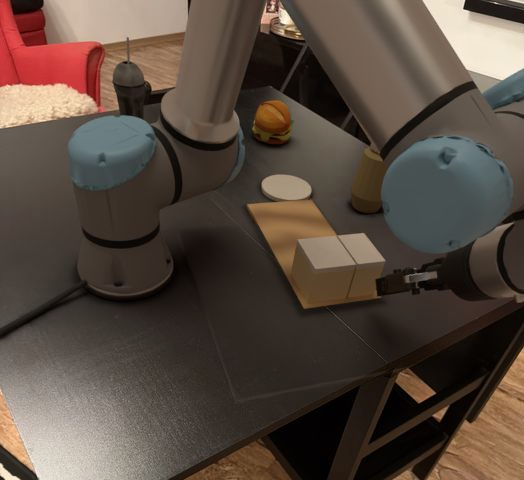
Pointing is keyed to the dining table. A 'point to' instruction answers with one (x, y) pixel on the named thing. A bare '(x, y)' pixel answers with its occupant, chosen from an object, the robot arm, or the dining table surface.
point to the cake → (322, 269)
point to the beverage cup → (129, 87)
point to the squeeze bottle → (368, 182)
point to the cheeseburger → (272, 123)
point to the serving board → (294, 236)
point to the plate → (285, 188)
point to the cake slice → (362, 264)
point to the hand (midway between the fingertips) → (380, 287)
